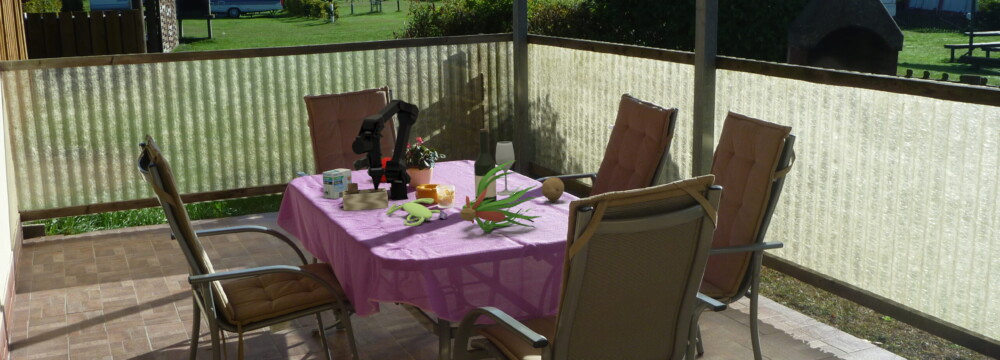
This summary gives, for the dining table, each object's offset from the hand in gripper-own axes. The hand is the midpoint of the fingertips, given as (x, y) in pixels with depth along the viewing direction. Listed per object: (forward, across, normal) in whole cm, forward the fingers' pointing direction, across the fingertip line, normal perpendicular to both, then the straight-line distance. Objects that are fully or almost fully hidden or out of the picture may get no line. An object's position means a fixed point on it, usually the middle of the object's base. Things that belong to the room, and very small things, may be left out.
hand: (376, 189), depth 418 cm
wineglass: (+7, -6, +53) cm, 54 cm away
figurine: (+7, +25, +13) cm, 29 cm away
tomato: (+7, -52, +7) cm, 53 cm away
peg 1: (+3, 0, -9) cm, 9 cm away
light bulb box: (+7, -25, -14) cm, 29 cm away
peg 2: (+6, 0, 0) cm, 6 cm away
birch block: (+6, 0, -4) cm, 8 cm away
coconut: (+7, +17, +67) cm, 69 cm away
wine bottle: (+7, +15, +41) cm, 44 cm away
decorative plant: (+7, +54, +38) cm, 67 cm away
